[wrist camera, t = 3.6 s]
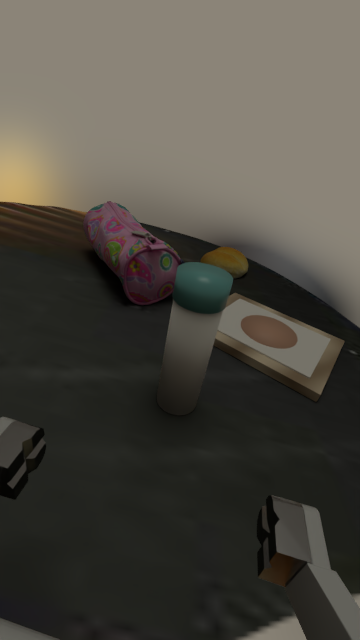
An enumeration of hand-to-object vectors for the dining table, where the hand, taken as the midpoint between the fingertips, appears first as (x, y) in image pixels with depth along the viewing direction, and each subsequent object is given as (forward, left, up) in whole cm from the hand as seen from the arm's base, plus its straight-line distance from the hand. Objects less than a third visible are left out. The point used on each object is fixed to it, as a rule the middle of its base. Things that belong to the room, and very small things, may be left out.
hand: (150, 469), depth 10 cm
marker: (-5, +11, -9) cm, 16 cm away
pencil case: (-27, +26, -10) cm, 39 cm away
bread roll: (-19, +43, -10) cm, 48 cm away
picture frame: (-3, +27, -9) cm, 29 cm away
